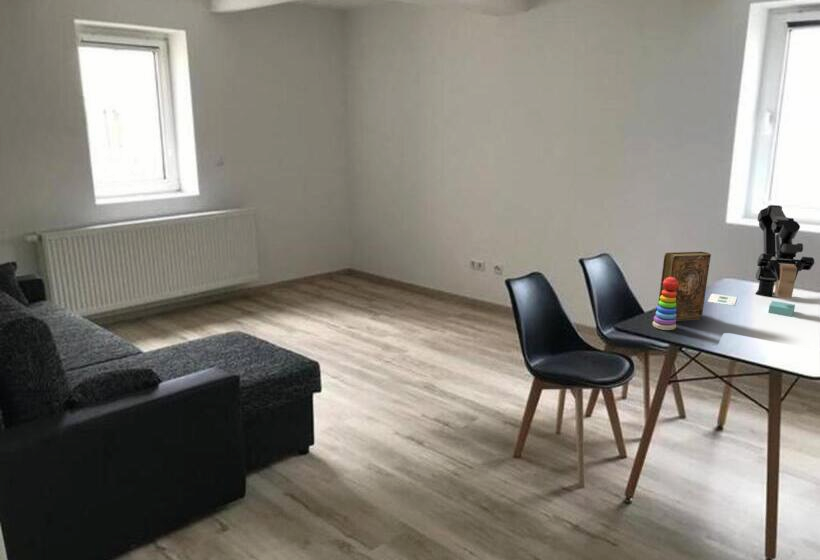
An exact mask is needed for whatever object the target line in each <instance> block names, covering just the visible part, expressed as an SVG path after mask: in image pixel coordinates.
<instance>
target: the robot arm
mask: <svg viewBox="0 0 820 560" xmlns="http://www.w3.org/2000/svg"><path fill="white" fill-rule="evenodd" d="M757 222H758V226H759V228H760V229H761V231H762V233H763V236H762V237H763V253H761V254H759V256H758V259H757V266H758V269H757V271H756V273H755V279H756V280H757V281H759V282H758V289H757V291H756V292H755V295H759V296H764V297H765V296H766V297H774V295H775V293H774V290H775V284H776V281H777V280H779V279H780V274H779V264H790V265H795V266H796V267H797V273H796V278H795V281H796V279H797V276H798V274H799V272H801V271H810V270H811V269H812V267H813V265H815V259H814V257H812V256H803V255H802V257H801V258H800V259H795V258H796V256H797V254H798V253H802V252H803V250H804V244H803V243H801V242H800V243H799V242H798V243H796V244H794V243H793V240H794V239H795V238H796V236H797V234H798V232H799V230H800V228H801V225H800V224H799V223H798V222H797V221H795V219H794V218H792V217H787V216H786V214H785V213H784V211H783V207H782V206H781V205H778V204H777V205H775V204H769V205H767V207H765V208H762V209H760V210H759V213H758V214H757Z"/></svg>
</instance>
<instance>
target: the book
mask: <svg viewBox="0 0 820 560" xmlns="http://www.w3.org/2000/svg"><path fill="white" fill-rule="evenodd" d="M711 257H712V254H711V253H710V252H706V251H705V252H704V251H680V252H665V253H664V256H663V263H662V264H663V265H662V272H661V279H660V288H659V297H658V303H657V307H658V306H659V301H660V296H661V295H662V290H664V287H663V281H664V280H665V279H666V278H668V277H673V278H675V279H676V280H677V281H678V287H677V288H676V289H675V290H674V291H676V293H677V295H676V296H675V297H676V301H675V302H676V307H675V308H676V312H675V313H676V318H675V319H676V322H678V321H679V322H680V321H697V320H700V319H701V320H703V311H704V304H705V297H706V291H707V283H708V276H709V270H710V262H711ZM656 311H658V310H657V309H656Z"/></svg>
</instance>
